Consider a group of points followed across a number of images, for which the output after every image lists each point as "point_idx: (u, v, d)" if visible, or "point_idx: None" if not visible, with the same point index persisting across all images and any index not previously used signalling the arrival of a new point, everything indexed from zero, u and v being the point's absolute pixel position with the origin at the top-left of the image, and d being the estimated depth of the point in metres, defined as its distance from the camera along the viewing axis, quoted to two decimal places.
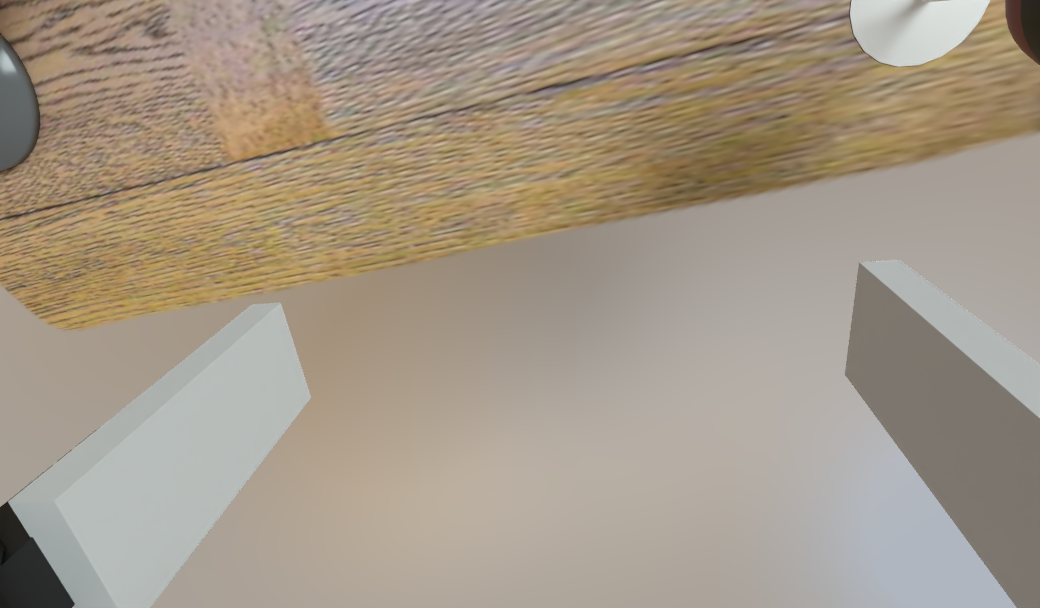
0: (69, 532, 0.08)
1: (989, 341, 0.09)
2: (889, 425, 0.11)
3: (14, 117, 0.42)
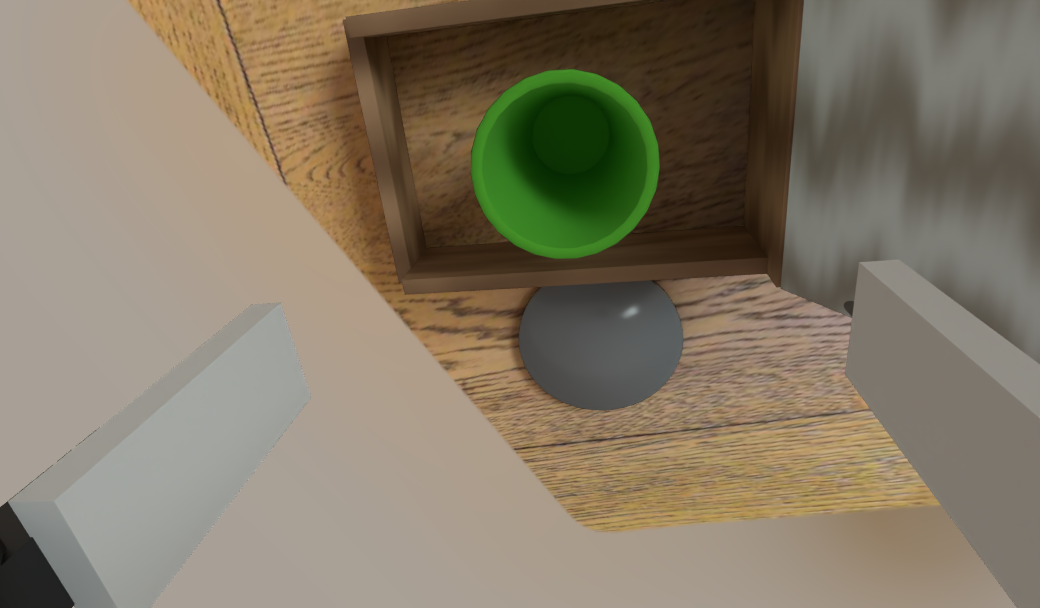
0: (69, 532, 0.08)
1: (989, 341, 0.09)
2: (890, 424, 0.11)
3: (657, 368, 0.43)
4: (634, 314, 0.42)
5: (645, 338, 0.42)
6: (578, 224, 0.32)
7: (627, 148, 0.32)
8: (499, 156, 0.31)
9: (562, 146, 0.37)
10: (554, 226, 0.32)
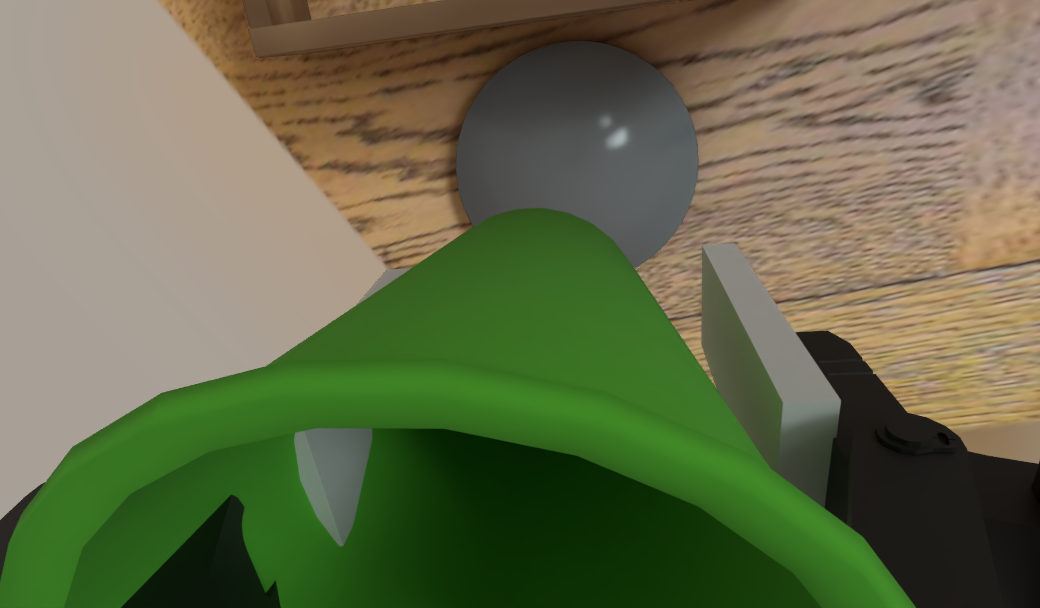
0: (307, 450, 0.09)
1: (762, 305, 0.11)
2: (717, 382, 0.13)
3: (661, 211, 0.29)
4: (625, 121, 0.28)
5: (642, 161, 0.28)
6: None
7: None
8: (261, 509, 0.09)
9: None
10: None
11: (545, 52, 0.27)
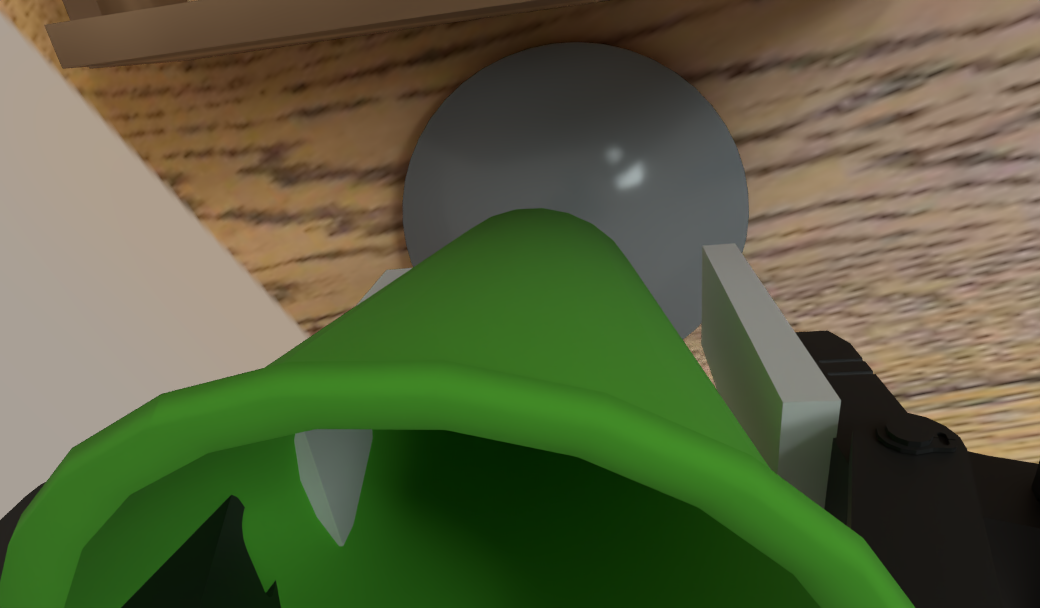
0: (307, 450, 0.09)
1: (762, 305, 0.11)
2: (717, 382, 0.13)
3: (693, 284, 0.21)
4: (643, 159, 0.19)
5: (667, 215, 0.20)
6: None
7: None
8: (261, 510, 0.09)
9: None
10: None
11: (527, 59, 0.18)
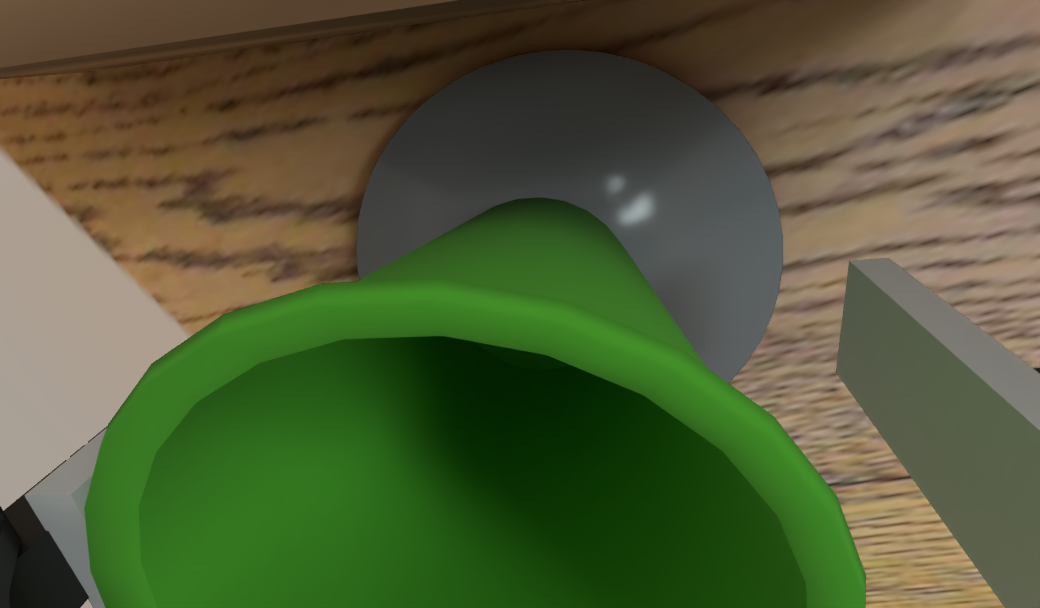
0: (85, 525, 0.08)
1: (974, 337, 0.09)
2: (879, 420, 0.11)
3: (712, 345, 0.17)
4: (652, 195, 0.15)
5: (682, 263, 0.16)
6: None
7: None
8: (292, 456, 0.10)
9: None
10: None
11: (505, 71, 0.14)
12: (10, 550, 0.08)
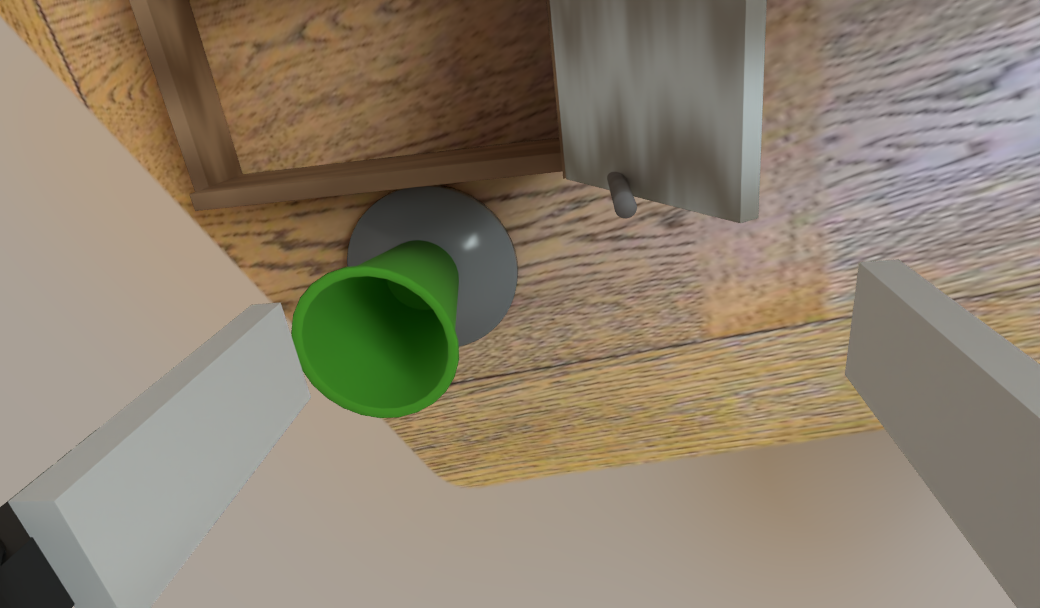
0: (69, 532, 0.08)
1: (989, 341, 0.09)
2: (890, 424, 0.11)
3: (495, 299, 0.41)
4: (462, 239, 0.39)
5: (478, 265, 0.40)
6: (410, 377, 0.34)
7: None
8: (331, 322, 0.34)
9: None
10: (388, 380, 0.34)
11: (403, 194, 0.38)
12: None
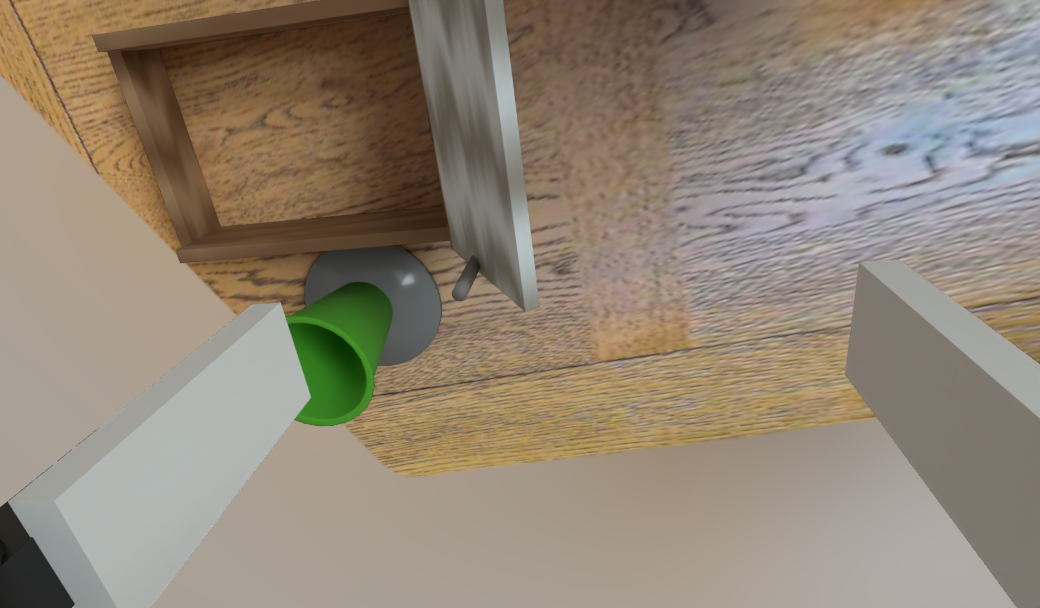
0: (69, 532, 0.08)
1: (989, 341, 0.09)
2: (890, 424, 0.11)
3: (423, 327, 0.51)
4: (395, 280, 0.49)
5: (408, 301, 0.50)
6: (345, 394, 0.44)
7: None
8: None
9: None
10: (328, 396, 0.44)
11: None
12: None
